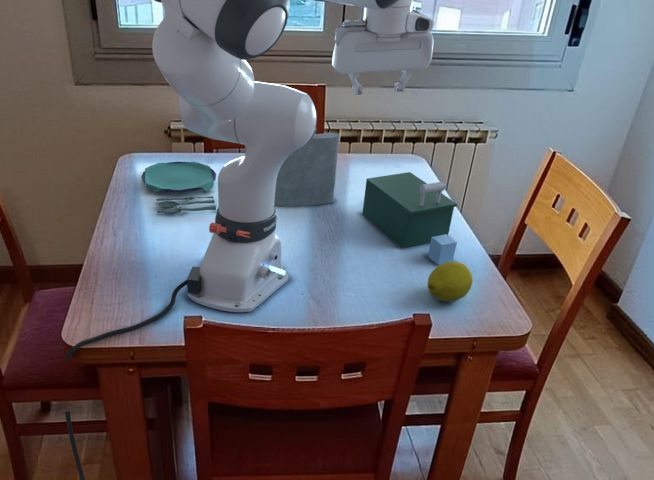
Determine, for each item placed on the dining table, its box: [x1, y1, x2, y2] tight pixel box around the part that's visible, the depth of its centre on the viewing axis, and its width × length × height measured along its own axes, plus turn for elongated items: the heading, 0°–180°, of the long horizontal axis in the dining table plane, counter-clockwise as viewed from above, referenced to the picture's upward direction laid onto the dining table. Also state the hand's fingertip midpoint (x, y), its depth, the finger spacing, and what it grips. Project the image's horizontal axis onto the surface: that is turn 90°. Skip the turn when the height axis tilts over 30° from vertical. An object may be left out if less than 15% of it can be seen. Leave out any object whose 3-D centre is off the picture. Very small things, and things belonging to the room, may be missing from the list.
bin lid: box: [365, 171, 458, 215], centre depth 144 cm, size 19×13×6 cm, turn 25°
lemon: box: [427, 260, 473, 303], centre depth 123 cm, size 11×8×8 cm
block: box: [427, 234, 458, 266], centre depth 137 cm, size 4×4×5 cm
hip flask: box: [274, 125, 340, 207], centre depth 154 cm, size 16×4×20 cm, turn 104°
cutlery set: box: [140, 161, 217, 214], centre depth 162 cm, size 20×30×2 cm, turn 11°
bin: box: [362, 181, 455, 249], centre depth 149 cm, size 19×13×9 cm
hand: (378, 92), depth 126 cm, fingers open, 8 cm apart
